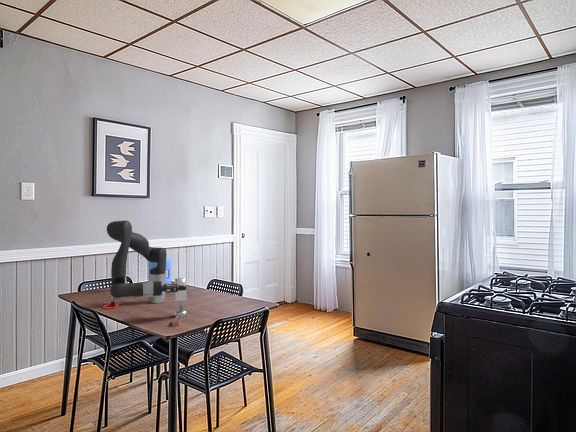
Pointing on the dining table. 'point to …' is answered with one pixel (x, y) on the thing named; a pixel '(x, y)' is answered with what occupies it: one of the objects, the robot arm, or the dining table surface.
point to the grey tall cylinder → (181, 294)
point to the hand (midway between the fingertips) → (185, 287)
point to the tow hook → (111, 304)
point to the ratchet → (179, 315)
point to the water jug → (168, 267)
